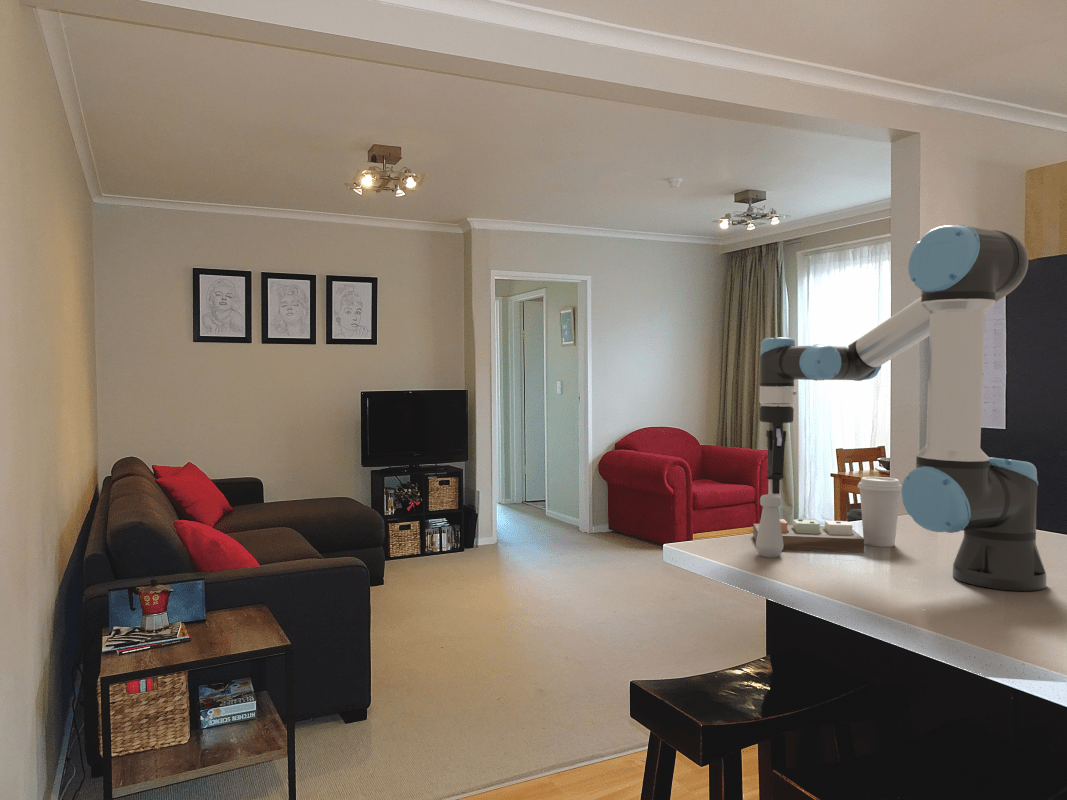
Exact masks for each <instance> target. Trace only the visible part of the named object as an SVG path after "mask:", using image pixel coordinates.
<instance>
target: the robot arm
mask: <svg viewBox="0 0 1067 800" xmlns="http://www.w3.org/2000/svg"><path fill="white" fill-rule="evenodd" d="M1028 268H1029V255H1028V252H1027V249H1026V246H1025V245H1024V244H1023V243H1022V241H1020V239H1018V238H1017V237H1016V236H1014V235H1013V234H1011V233H1008V232H1006V231H1003V230H991V229H986V228H985V229H984V228H980V227H974V226H969V225H964V224H962V225H961V224H959V225H950V224H949V225H947V224H946V225H940V226H937V227H935V228H932V229H931V230H929V231H928V232H926V233H925V234H924V235H923V236H922V238H921V239H920V240H919V241H917V243H916V244H915V245H914V247H913V248H912V250H911V252H910V256H909V259H908V268H907V269H908V270H907V271H908V274H909V275H908V276H909V279H910V280H911V282H913V283H914V286H915V287H916V288H918V289H919V290H921V296H920V297H919V298H917V299H915V300H914V301H913V302H911V303H910V304H909V305H907V306H906V307H904V308H903V309H901V310H899V311H898V312H896V313H895V314H894V315H892V316H891V317H889V318H888V319H886V320H885V321H883V322H881V323H880V324H879V325H877V326H875V327H874V328H873V329H871V330H869V331H868V332H867V333H865V334H864V335H863V336H861V337H859V338H858V339H857V340H854V341H853V342H852V343H849V344H848V345H846V346H839V345H835V346H834V345H829V344H811V345H797V346H796V344H795V343H796V342H795V339H794V338H792V337H767V338H764V339H763V340H762V341H761V344H760V353H759V354H760V355H759V361H760V364H759V374H760V375H759V394H758V395H759V398H758V399H759V401H758V403H760V404H761V405H760V407H759V411H758V412H759V415H758V418H759V421H760V422H761V423H768V424H769V429H766V433H765V436H766V448H767V474H768V475H767V477H766V480H768V494H772V495H777V496H779V497H780V499H781V500H782V489H783V488H782V484H783V483H782V482H783V481H782V480H783V479H784V465H785V447H786V446H785V445H786V442H787V441H786V440H787V431H786V430H784V425H783V424H791V423H793V422H794V411H795V409H794V407H793V406H791V405H793V404H794V401H795V400H794V399H795V398H794V396H796V395H797V391H796V390H794V388H795V380H804V381H805V380H806V381H808V380H809V381H826V380H827V381H836V380H837V381H857V382H859V381H860V382H861V381H865V380H866V381H867V380H870V379H873V378H875V377H877V375H878V374H879V372H880V371H881V368H882V365H884V364H886V363H887V362H889V361H890V360H892V359H894V358H895V357H897V356H899V355H900V354H902V353H904V352H905V351H907V350H909V349H910V348H912V347H913V346H915V345H917V344H919V343H920V342H922V341H923V340H925V339H927V338H928V337H929V341H928V342H929V344H928V372H927V374H928V375H927V376H928V379H927V404H926V405H927V407H926V409H927V410H926V411H927V412H926V439H925V442H926V443H925V446H923V448H922V449H920V451H918V452H917V453H916V456H915V457H916V459H915V460H916V461H915V463H916V464H915V469H912V470H911V471H910V472H908V475H907V476H905V478H903V481H902V484H901V485H902V489H901V492H900V496H901V500H902V501H901V502H902V504H903V507H904V509H905V511H906V512H907V515H908V516H910V517H911V518H912V520H913V521H914V522H915V523H916V524H917V525H918V526H919V527H921V528H922V529H925V530H927V531H930V532H934V533H947V534H948V533H949V534H952V533H953V534H954V533H960V532H961V531H963V538H962V541H961V542H960V546H959V547H958V550H957V553H956V555H955V559H954V561H953V563H952V577H953V578H954V579H956V580H957V581H960V582H963V583H967V584H969V585H973V586H978V587H982V588H988V589H995V590H1004V591H1015V592H1016V591H1018V592H1019V591H1020V592H1021V591H1022V592H1028V591H1029V592H1031V591H1039V590H1043V589H1045V588H1046V587H1047V572H1046V570H1045V566H1044V563H1043V561H1042V558H1041V555H1040V553H1039V549H1038V546H1037V541H1036V540H1037V516H1038V515H1037V508H1038V506H1037V505H1038V487H1039V481H1038V476H1037V475H1038V471H1037V468H1036V466H1035V465H1034V464H1033V463H1032V462H1029V461H1024V460H1023V461H1022V460H1016V459H1007V458H1000V457H999V458H998V457H989V456H988V455H987V454H986V453H985V452H984V451H983V449H982V448H981V441H982V440H981V439H982V437H981V434H982V412H983V411H982V406H983V405H982V404H983V380H984V379H983V378H984V377H983V376H984V375H983V374H984V351H985V350H984V348H985V323H986V321H985V318H986V317H985V316H986V314H985V313H986V312H987V310H988V309H990V308H991V307H992V306H993V305H994V304H995V303H997V302H998V301H1000V300H1002V299H1003V298H1005V297H1006V296H1008V295H1009V294H1011V293H1012V292H1013V291H1014V290H1016V288H1018V286H1019V285H1021V283H1022V281H1023V280H1024V279H1025V276H1027V275H1026V274H1027V271H1028ZM778 509H782V504H781V505H780V506H779V507H778Z"/></svg>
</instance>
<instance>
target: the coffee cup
mask: <svg viewBox="0 0 1067 800" xmlns="http://www.w3.org/2000/svg"><path fill="white" fill-rule="evenodd" d="M857 488H858V489H859V497H860V509H861V520H862V521H861V523H862V535H863V536H862V537H863V538H864V543H865V544H864V545H867V546H872V547H878V548H880V547H881V548H891V547H892V548H893V547H894V546H895V544H896V534H897V525H898V518H899V517H898V516H899V510H900V509H899V508H900V498H901V489H902V484H901V483H900V480H899V479H898V478H893V477H886V476H885V477H884V476H883V477H881V476H863V477H861V479H860V481H859V482H858V483H857Z"/></svg>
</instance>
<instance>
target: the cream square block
mask: <svg viewBox="0 0 1067 800" xmlns="http://www.w3.org/2000/svg"><path fill="white" fill-rule="evenodd" d="M824 526H825V532H826V533H827V534H831V535H852V529H853V524H851V523H850V522H849V521H847V520H845V521H844V520H824Z"/></svg>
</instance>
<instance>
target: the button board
mask: <svg viewBox="0 0 1067 800" xmlns="http://www.w3.org/2000/svg"><path fill="white" fill-rule="evenodd" d="M759 524H760V523H753V525H752V527H753V529H752V531H753V532H752V534H753V535H752V536H753V539H754V540H755V541H756V539H757V534H758V529H759ZM782 538H783V544H784V547H783V550H790V549H797V550H796V551H814V550H821V552H838V551H847V552H846V553H863V552H864V553H865V544H864V538H863V536H861V535H860V534H859V532H856V531H855V530H854V529H853V528H852V535H831V534H827V533H826V532H825V525H824V526H823V525H820V534H805V533H795V531H794V530H793V524H787V533H782ZM822 550H824V551H822Z"/></svg>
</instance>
